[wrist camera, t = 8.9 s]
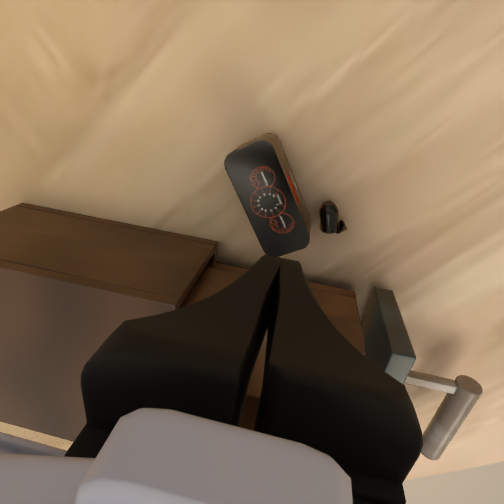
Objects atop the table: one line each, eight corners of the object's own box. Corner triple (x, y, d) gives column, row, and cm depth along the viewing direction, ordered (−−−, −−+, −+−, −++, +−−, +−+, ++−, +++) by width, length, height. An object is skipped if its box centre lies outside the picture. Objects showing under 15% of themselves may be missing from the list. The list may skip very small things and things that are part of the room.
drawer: (481, 308, 21) (537, 385, 16) (410, 435, 27) (432, 522, 22) (182, 247, 23) (140, 297, 18) (178, 378, 29) (146, 444, 24)
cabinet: (217, 241, 23) (175, 305, 16) (205, 382, 30) (172, 469, 23) (21, 202, 25) (-92, 246, 18) (51, 344, 31) (-23, 415, 25)
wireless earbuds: (279, 247, 22) (273, 271, 20) (234, 147, 20) (220, 157, 17) (346, 225, 21) (350, 247, 18) (307, 114, 18) (304, 119, 16)
